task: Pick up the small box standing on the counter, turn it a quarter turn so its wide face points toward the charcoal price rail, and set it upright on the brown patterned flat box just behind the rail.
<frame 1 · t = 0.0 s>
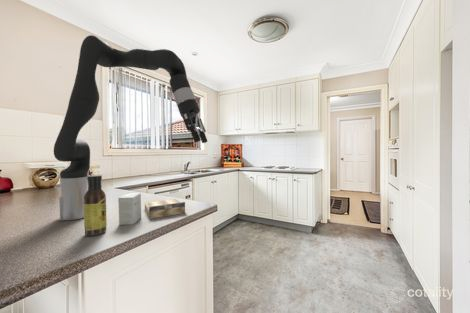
hand: (201, 142, 76), 31 cm above the counter, tool tilted 20°, fingers open, 8 cm apart
sauce bottle: (96, 233, 69), on the counter
brown patterned flat box: (164, 210, 94), on the counter
small box: (130, 221, 81), on the counter
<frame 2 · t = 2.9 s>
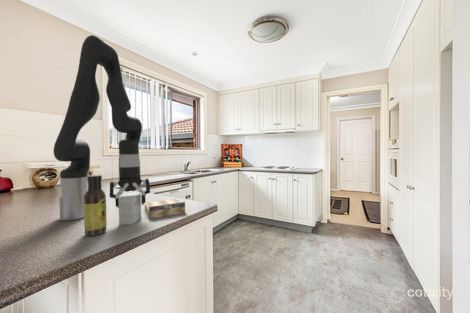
hand: (131, 205, 80), 6 cm above the counter, tool pointing down, fingers open, 8 cm apart
small box: (130, 221, 81), on the counter, touching gripper
everything else where it was.
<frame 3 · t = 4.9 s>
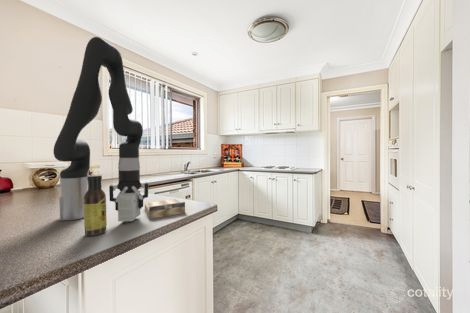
hand: (129, 209, 81), 5 cm above the counter, tool pointing down, fingers closed on small box, 7 cm apart
small box: (129, 218, 81), point 1 cm above the counter, touching gripper
everything else where it was.
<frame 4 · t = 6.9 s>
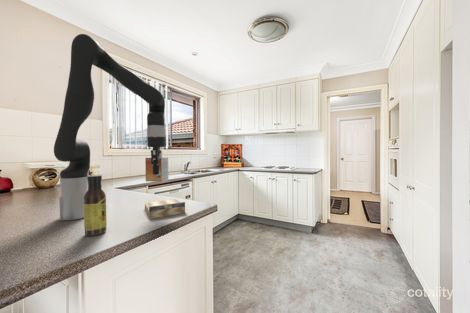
hand: (157, 173, 89), 18 cm above the counter, tool pointing down, fingers closed on small box, 7 cm apart
small box: (157, 181, 89), point 15 cm above the counter, touching gripper
everything else where it was.
when the fingers open (7 cm above the counter, at t = 9.9 s): small box stays where it is, resting on brown patterned flat box.
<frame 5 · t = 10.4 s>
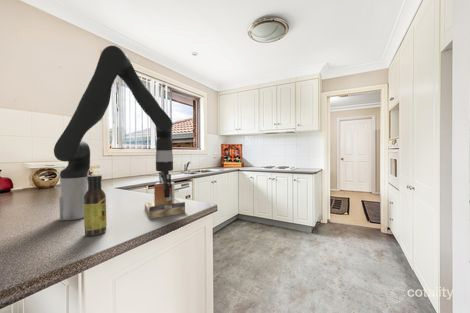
hand: (164, 195, 92), 8 cm above the counter, tool pointing down, fingers open, 8 cm apart
small box: (164, 205, 92), point 3 cm above the counter, touching brown patterned flat box
everything else where it was.
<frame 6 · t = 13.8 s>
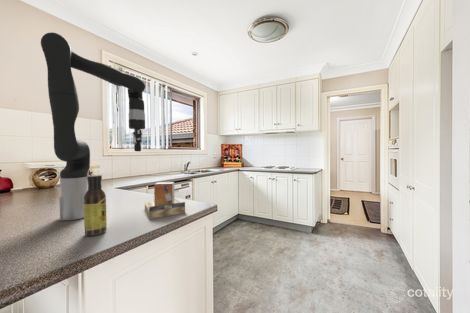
hand: (137, 151, 102), 28 cm above the counter, tool pointing down, fingers open, 8 cm apart
nothing on the counter moved.
at the end: small box inside the target area on the brown patterned flat box (0.1 cm from its centre), point 2.8 cm above the brown patterned flat box's base; small box tilted 0°; the gripper is holding nothing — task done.
